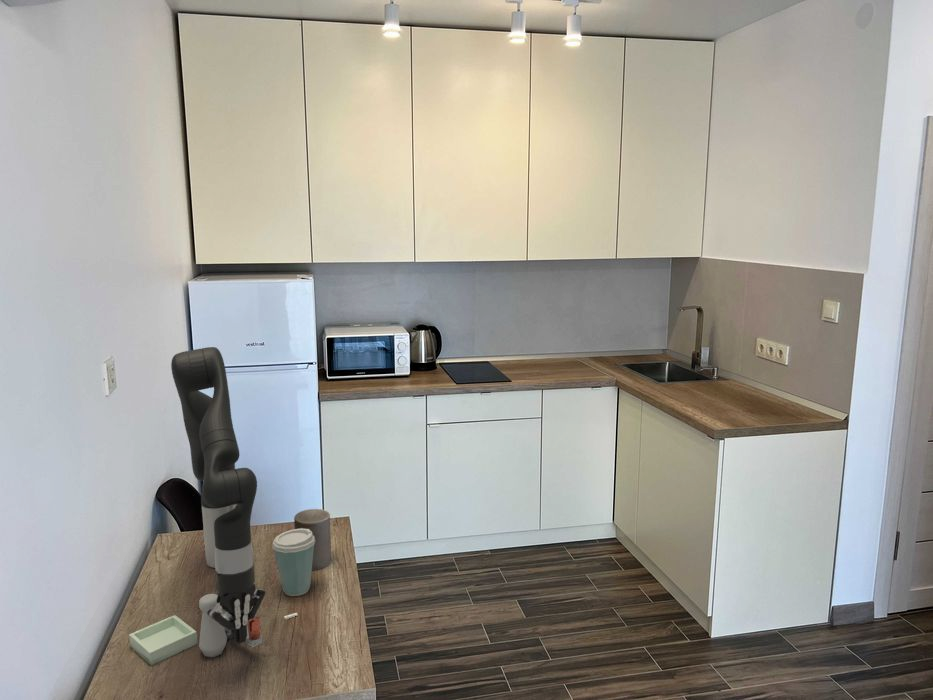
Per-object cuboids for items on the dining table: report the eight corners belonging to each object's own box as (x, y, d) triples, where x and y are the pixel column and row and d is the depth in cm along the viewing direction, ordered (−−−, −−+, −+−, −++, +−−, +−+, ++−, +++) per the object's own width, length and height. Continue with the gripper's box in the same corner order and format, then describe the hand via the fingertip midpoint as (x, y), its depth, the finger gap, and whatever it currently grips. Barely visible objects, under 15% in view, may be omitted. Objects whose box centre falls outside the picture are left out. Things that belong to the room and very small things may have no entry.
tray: (130, 646, 156) (129, 634, 155) (175, 626, 163) (174, 615, 163) (151, 665, 149) (149, 652, 148) (197, 643, 157) (196, 631, 156)
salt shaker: (218, 661, 150) (213, 605, 148) (194, 658, 151) (189, 602, 149) (232, 645, 156) (228, 591, 154) (209, 642, 157) (204, 589, 155)
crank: (202, 622, 161) (200, 594, 160) (217, 615, 164) (214, 588, 162) (251, 654, 148) (249, 625, 147) (266, 647, 151) (263, 617, 150)
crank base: (209, 637, 159) (209, 629, 159) (227, 628, 162) (226, 620, 162) (219, 644, 156) (218, 636, 156) (237, 636, 159) (236, 627, 159)
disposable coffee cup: (276, 604, 173) (272, 547, 170) (273, 583, 183) (270, 529, 180) (320, 596, 176) (317, 540, 173) (315, 576, 186) (312, 523, 183)
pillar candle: (289, 568, 191) (286, 516, 188) (306, 552, 200) (304, 502, 197) (322, 572, 188) (319, 520, 185) (338, 556, 197) (336, 506, 195)
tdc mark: (285, 619, 166) (285, 617, 166) (284, 618, 166) (284, 616, 166) (297, 616, 167) (297, 614, 167) (296, 614, 168) (296, 612, 168)
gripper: (250, 548, 152) (255, 622, 154) (195, 571, 141) (200, 650, 144) (272, 557, 147) (276, 633, 150) (216, 581, 137) (222, 663, 139)
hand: (239, 641), depth 147 cm, fingers closed
